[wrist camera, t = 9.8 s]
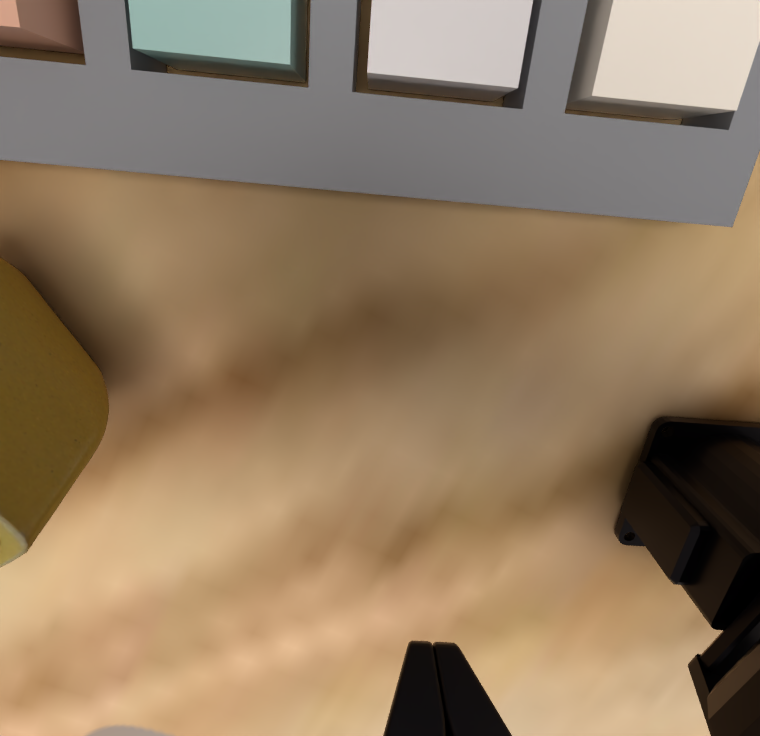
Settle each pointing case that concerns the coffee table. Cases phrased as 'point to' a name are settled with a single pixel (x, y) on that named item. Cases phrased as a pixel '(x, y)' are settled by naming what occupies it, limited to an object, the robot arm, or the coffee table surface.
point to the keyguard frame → (377, 127)
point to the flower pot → (41, 412)
